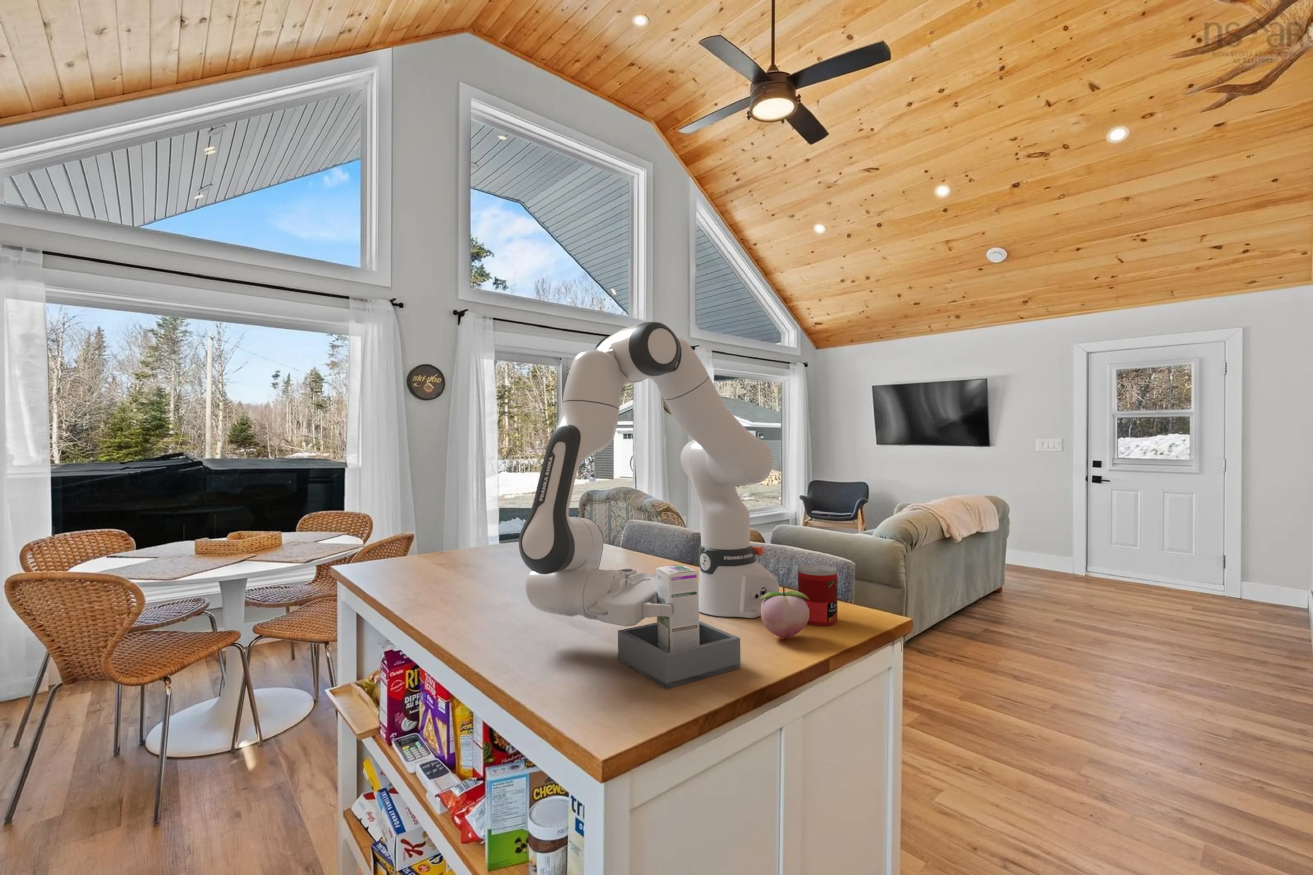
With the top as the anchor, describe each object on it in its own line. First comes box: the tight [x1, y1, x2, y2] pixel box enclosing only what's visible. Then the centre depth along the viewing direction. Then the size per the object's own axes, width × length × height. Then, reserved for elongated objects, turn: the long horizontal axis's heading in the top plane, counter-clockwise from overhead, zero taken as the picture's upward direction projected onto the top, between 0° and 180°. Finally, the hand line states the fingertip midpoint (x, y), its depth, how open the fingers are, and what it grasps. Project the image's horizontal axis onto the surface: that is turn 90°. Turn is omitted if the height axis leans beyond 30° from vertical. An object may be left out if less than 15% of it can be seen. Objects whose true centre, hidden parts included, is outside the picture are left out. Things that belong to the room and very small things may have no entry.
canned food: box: [797, 564, 838, 627], centre depth 125 cm, size 8×8×11 cm
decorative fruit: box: [759, 586, 809, 640], centre depth 114 cm, size 9×8×10 cm
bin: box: [617, 620, 741, 690], centre depth 102 cm, size 15×15×5 cm
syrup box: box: [655, 564, 700, 653], centre depth 102 cm, size 6×6×14 cm
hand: (682, 603), depth 102 cm, fingers closed on syrup box, 8 cm apart
